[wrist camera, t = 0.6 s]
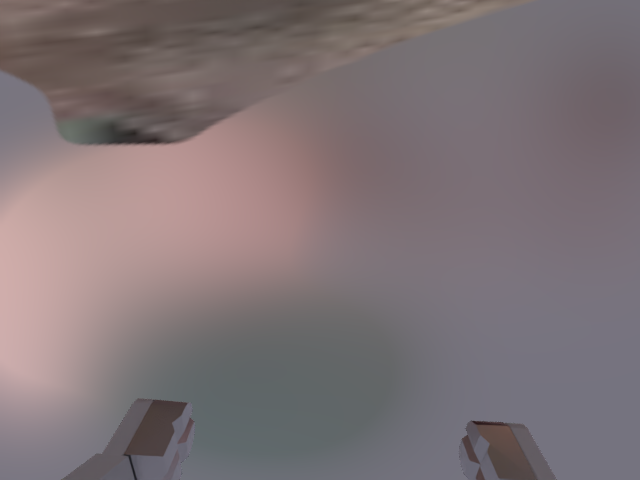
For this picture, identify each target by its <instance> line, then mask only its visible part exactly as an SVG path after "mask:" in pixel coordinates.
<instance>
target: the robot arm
mask: <svg viewBox="0 0 640 480" xmlns="http://www.w3.org/2000/svg"><path fill="white" fill-rule="evenodd" d="M192 411H193V410H192V405H191V403H186V402H174V401H164V400H163V401H162V400H152V399H139V398H138V399H137V400H136V401H135V402H134V403H133V404H132V405H131V407H130V409H129V410H128V412H127V414H126V415H125V417H124V418H123V420H122V422H121V423H120V425H119V427H118V428H117V430H116V432H115V433H114V435H113V437H112V438H111V440H110V442H109V443H108V445H107V447H106V448H105V450H104V451H103V453H102V454H95V455H94V456H93V457H92V458H90V459H89V460H87V461H86V462H85V463H84V464H82V465H81V466H79V467H78V468H77V469H75V470H74V471H73V472H71V473H70V474H69V475H68V476H66V477H65V478H63V479H62V480H180V477H181V475H182V469H181V463H182V462H183V461H184V460H185V459H186V458H187V457H188V456H189V453H190V450H191V447H192V443H193V439H194V433H195V424H194V421H193V420H192V419H191V418H190V416H191V414H192ZM466 431H467V434H468V435H467V436H465V437H464V438H462V439H461V443H460V446H459V457H460V462H461V467H462V470H463V473H464V475H465V476H466V477H467V478H468V479H469V480H557V479H556V477H555V475H554V474H553V472H552V470H551V469H550V467H549V465H548V463H547V462H546V460H545V458H544V456H543V455H542V453H541V451H540V450H539V448H538V446H537V444H536V442H535V441H534V439H533V437H532V435H531V434H530V432H529V430H528V428H527V427H526V426H525V425H523V424H515V423H503V422H487V421H470V422H468V424H467V426H466Z"/></svg>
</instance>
